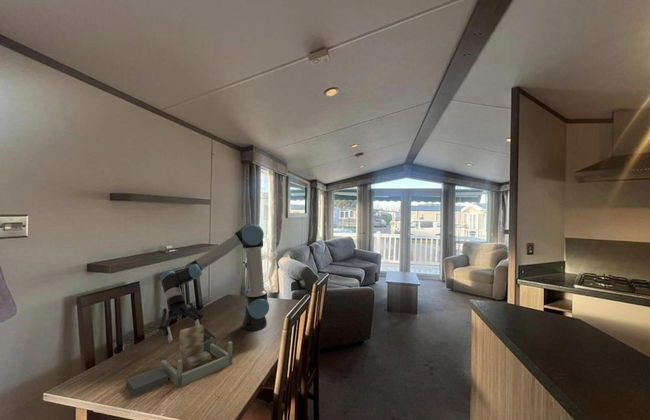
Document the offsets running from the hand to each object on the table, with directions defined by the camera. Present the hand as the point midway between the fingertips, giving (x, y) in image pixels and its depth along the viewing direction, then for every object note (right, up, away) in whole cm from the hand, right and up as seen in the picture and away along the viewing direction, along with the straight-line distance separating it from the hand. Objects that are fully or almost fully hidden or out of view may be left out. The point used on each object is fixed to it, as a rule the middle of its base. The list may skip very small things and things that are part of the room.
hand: (186, 336), depth 133 cm
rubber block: (-6, -11, -20) cm, 23 cm away
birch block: (+3, -11, -2) cm, 12 cm away
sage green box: (+8, -11, -6) cm, 15 cm away
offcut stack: (+9, -11, -8) cm, 17 cm away
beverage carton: (+1, -12, +16) cm, 21 cm away
